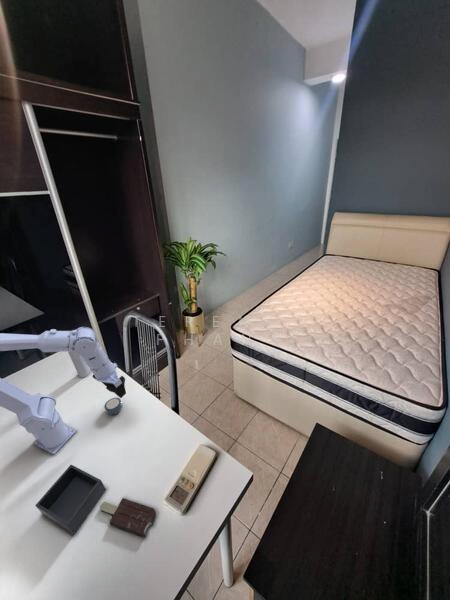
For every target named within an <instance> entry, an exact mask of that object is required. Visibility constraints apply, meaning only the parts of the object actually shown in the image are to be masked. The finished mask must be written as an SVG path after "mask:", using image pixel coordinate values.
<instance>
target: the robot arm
mask: <svg viewBox="0 0 450 600" xmlns="http://www.w3.org/2000/svg"><path fill="white" fill-rule="evenodd" d="M96 338H97V337H96V332H95V330H94V329H93V328H91V327H87V326H81V327H78V328H76V329H72V330H57V329H55V328H52V329H50V330H45V331H44V332H42V333H40V334H22V333H4V332H2V333H0V352H5V351H6V352H7V351H17V350H31V349H39V350H40V351H41V352H43V353H61V352H64V353H65V352H66V353H67V352H68V351H73V352H74V353H75V354H77V355H81V356H82V358H83V360H84V361H85V363H86V364H87V366H88V368H89V370H90V372H91V374H92V378H93V379H94V380H96V381H97V382H100V383H102V384H103V386H105V389H106V390H107V391H108V392H110V393H114V394H115V395H116V397H117V398H119V399H122V398H124V396H125V395H126V394H127V391H126V385H125V382H126V378H125V376H123V375H121V376H120V377H119V376H118V373H117V370H116V369H117V368H118V364H117V363H116V362H113V363H112V362H111V360H110V359H109V357H108V355H107V354H106V352H105V350H104V349H103V347H102V346H101V345H100V343H99V341H98V340H97V339H96ZM56 405H57V400H56V398H54V397H53V396H50V395H45V394H42V393H40V392H38V393H35V394H30V393H29V392H26V391H25V390H23V389H21V388H19V387H18V386H16V385H14V384H12V383H10V382H8V381H7V380H5V379H3V378H1V377H0V407H1V408H3V409H5V410H7V411H9V412H11V413H13V414H16V417H17V420H18V423H19V424H18V425H20V426H22V427H23V428H25V430H26V432H27V433H29V434H31V435H32V436H33V437H34V439H35V442H33V444H34V445H35V446H37V447H38V448H40V449H43V450H45V451H46V452H48V453H50V454H52V455H56V454H57V452H58V451H59V450H60V449H61V448H62V447H64V445H65V444H66V443H67V442H68V441H69V440H70V439H71V438H72V437H73V435H74V434H76V430H75V429H72V428H70V427H68V426H67V425H66V424H65V421H64V419H63V418H62V417H61V414H60V413H59V411H58V410H57V409H56Z"/></svg>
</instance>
